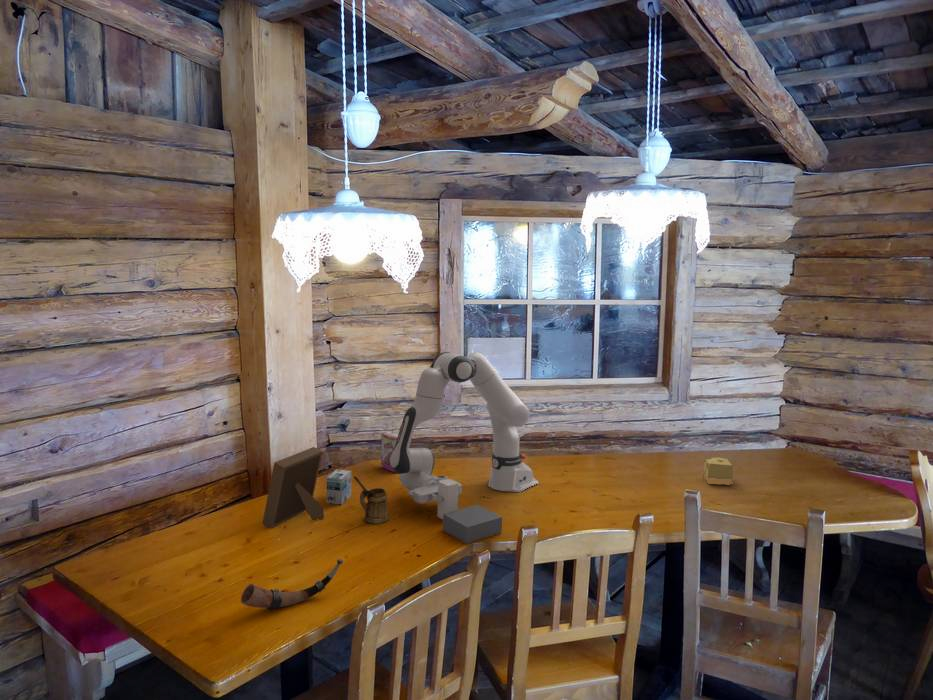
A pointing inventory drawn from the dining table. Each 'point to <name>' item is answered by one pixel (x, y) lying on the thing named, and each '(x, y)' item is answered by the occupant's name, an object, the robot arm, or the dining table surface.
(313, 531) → the dining table surface
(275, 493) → the photo frame
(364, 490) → the wooden mug
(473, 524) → the podium
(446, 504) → the carton
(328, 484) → the light bulb box
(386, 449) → the candy bar box
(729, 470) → the cheese
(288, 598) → the drinking horn
